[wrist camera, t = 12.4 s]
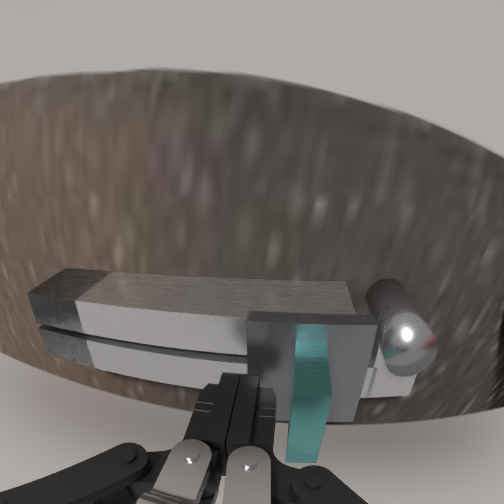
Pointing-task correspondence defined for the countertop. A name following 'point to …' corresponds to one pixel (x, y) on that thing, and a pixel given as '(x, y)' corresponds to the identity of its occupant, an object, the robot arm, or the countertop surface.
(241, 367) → the base
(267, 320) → the lock plate
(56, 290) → the arm
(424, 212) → the countertop surface
